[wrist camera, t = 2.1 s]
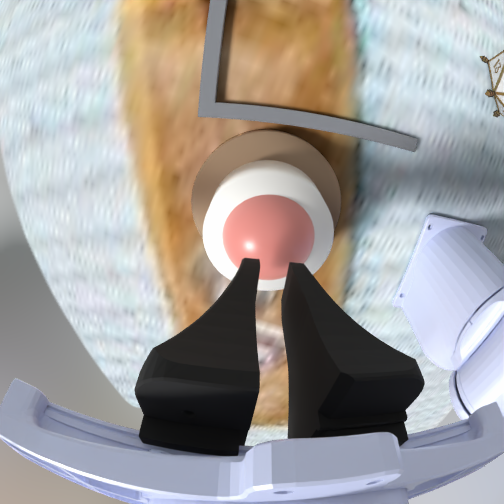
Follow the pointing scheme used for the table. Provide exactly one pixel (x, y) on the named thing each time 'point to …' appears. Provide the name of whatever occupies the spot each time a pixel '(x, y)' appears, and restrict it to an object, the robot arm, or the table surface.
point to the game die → (496, 81)
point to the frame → (272, 114)
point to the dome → (267, 222)
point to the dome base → (264, 148)
